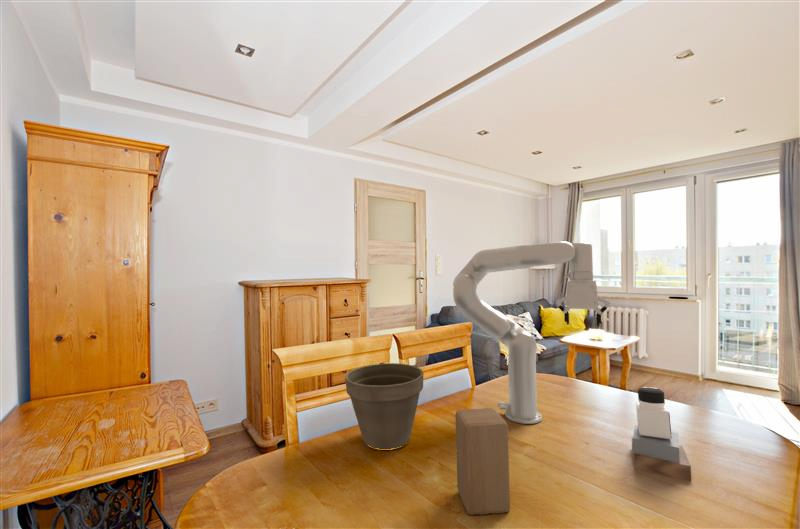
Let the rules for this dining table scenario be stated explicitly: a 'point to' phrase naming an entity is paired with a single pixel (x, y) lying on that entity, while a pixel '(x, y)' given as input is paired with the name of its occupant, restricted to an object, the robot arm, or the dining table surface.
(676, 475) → the tower base
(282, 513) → the dining table surface
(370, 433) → the plant pot
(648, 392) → the medicine bottle
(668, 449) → the tower top
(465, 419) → the wooden block
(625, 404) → the dining table surface
